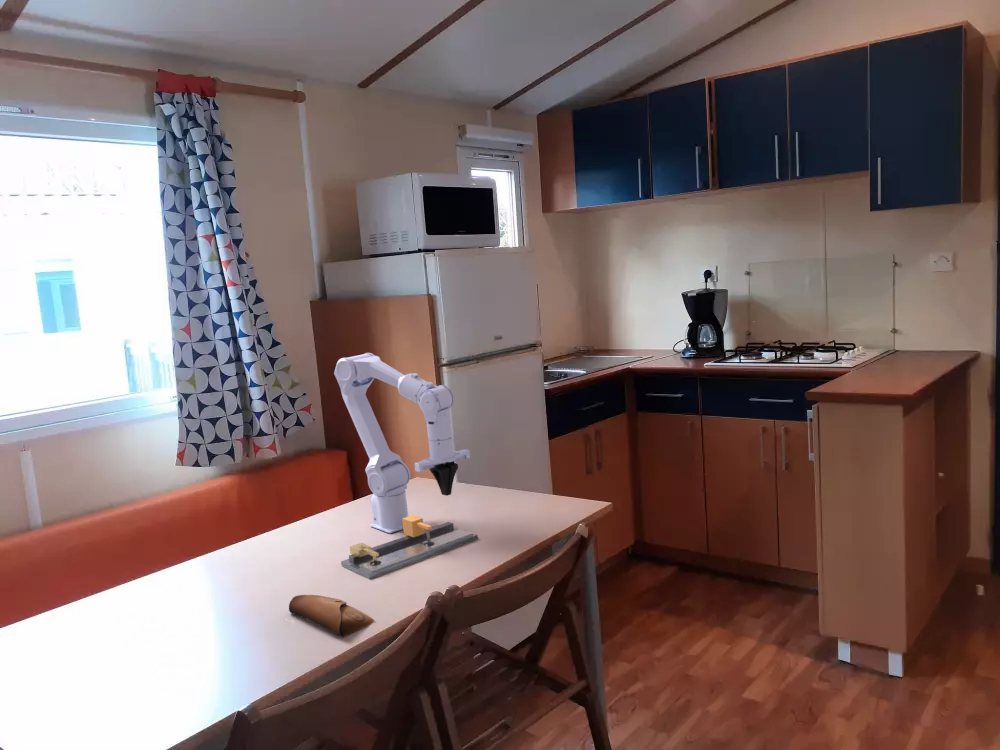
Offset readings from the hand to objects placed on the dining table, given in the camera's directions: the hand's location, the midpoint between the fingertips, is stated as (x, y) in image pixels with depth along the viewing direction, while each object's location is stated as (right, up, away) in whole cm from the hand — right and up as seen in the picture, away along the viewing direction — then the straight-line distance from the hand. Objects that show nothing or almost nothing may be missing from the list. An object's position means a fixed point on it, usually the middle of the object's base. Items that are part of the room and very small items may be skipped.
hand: (446, 494), depth 188 cm
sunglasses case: (-19, -18, -39) cm, 47 cm away
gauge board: (-7, -12, -8) cm, 16 cm away
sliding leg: (-6, -9, -6) cm, 12 cm away
